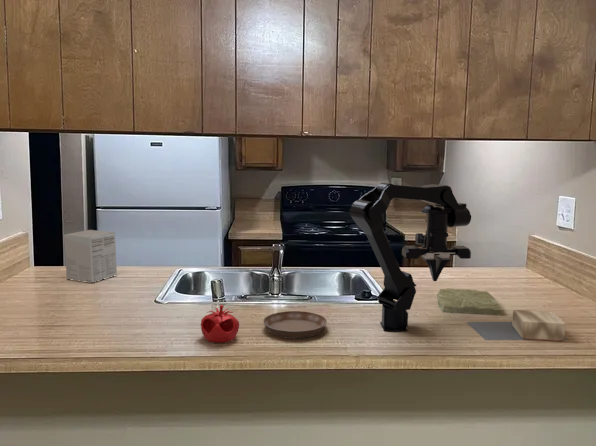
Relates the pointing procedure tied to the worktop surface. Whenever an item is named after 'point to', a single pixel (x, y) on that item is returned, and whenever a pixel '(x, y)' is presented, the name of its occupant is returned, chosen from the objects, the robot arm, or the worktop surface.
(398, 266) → the robot arm
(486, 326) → the rubber mat
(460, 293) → the decorative tile
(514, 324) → the maple block
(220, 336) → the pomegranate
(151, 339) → the worktop surface
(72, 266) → the supplement box
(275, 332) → the plant saucer
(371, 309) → the worktop surface
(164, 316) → the worktop surface
